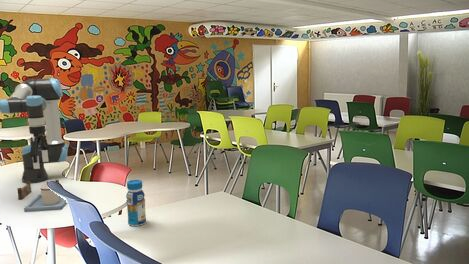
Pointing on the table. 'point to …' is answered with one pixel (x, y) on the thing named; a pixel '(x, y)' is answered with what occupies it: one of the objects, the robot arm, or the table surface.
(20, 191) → the walnut rack
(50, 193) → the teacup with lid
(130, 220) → the beverage bottle
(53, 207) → the tray
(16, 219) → the table surface
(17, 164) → the table surface
